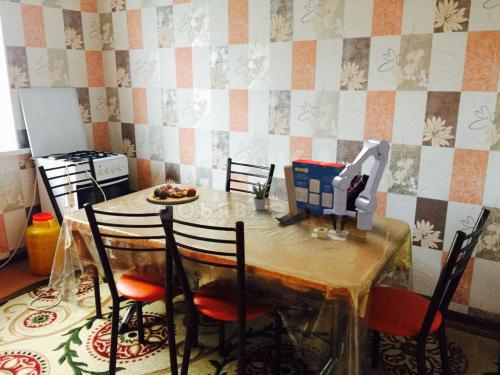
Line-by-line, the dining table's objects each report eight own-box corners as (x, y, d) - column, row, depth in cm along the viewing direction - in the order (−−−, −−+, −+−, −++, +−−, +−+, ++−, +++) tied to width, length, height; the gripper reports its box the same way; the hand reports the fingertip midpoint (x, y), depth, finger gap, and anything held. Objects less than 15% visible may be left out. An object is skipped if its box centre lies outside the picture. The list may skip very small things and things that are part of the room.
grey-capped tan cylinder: (335, 230, 205) (336, 218, 204) (342, 231, 204) (342, 219, 203) (334, 232, 203) (335, 220, 201) (341, 233, 202) (342, 221, 200)
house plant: (275, 205, 251) (275, 177, 247) (274, 212, 237) (274, 183, 233) (251, 204, 252) (250, 177, 248) (248, 211, 239) (248, 183, 235)
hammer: (283, 229, 216) (275, 173, 205) (276, 227, 220) (268, 172, 209) (310, 215, 227) (304, 161, 216) (303, 213, 231) (297, 159, 220)
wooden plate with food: (209, 195, 274) (209, 183, 272) (175, 207, 247) (174, 193, 246) (171, 190, 290) (171, 178, 289) (136, 201, 264) (135, 187, 262)
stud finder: (318, 233, 201) (319, 227, 200) (327, 234, 200) (327, 228, 199) (316, 237, 197) (317, 230, 196) (325, 238, 195) (325, 231, 195)
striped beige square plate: (315, 228, 210) (315, 227, 210) (349, 232, 205) (349, 230, 205) (309, 238, 197) (309, 236, 197) (345, 242, 192) (345, 241, 192)
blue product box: (343, 216, 230) (346, 164, 224) (337, 219, 224) (339, 167, 217) (298, 207, 247) (299, 159, 240) (291, 210, 241) (292, 161, 234)
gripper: (322, 202, 199) (321, 230, 202) (355, 205, 194) (353, 234, 197) (325, 199, 205) (324, 226, 208) (356, 201, 200) (355, 229, 204)
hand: (338, 229), depth 203 cm, fingers closed on grey-capped tan cylinder, 3 cm apart
